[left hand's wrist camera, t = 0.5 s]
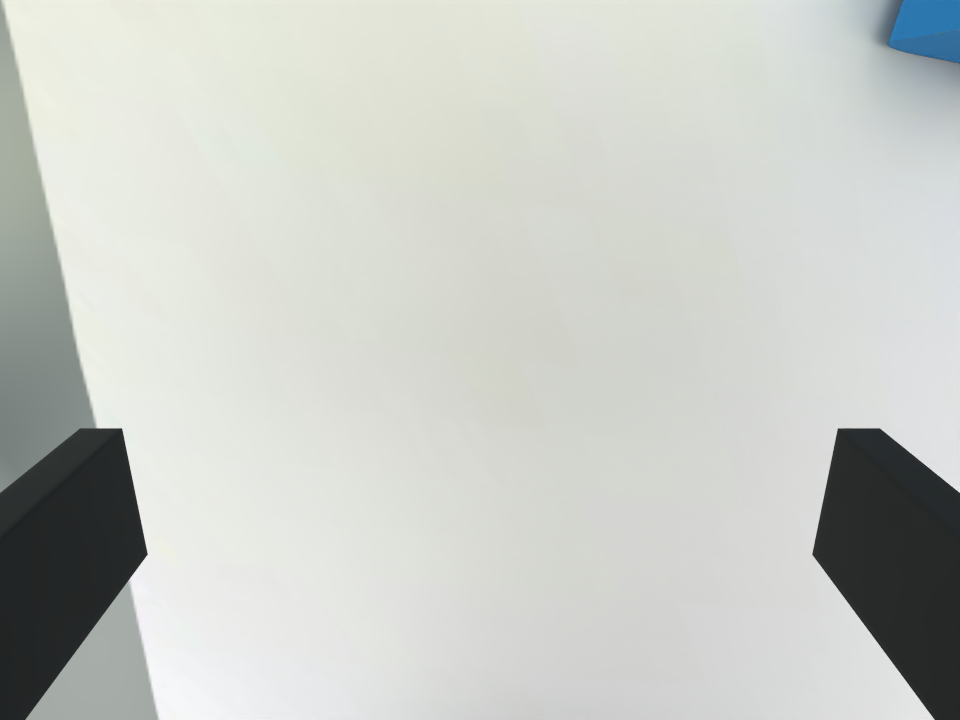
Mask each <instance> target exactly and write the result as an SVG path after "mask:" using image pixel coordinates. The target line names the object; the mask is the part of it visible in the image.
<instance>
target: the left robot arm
mask: <svg viewBox="0 0 960 720" xmlns="http://www.w3.org/2000/svg"><path fill="white" fill-rule="evenodd" d="M147 555H148V554H147V549H146V544H145V539H144V534H143V529H142V524H141V520H140V515H139V510H138V505H137V500H136V495H135V490H134V485H133V480H132V475H131V470H130V465H129V460H128V456H127V451H126V446H125V441H124V436H123V431H122V429H79V430H78V431H77V432H75V433H74V434H73V435H72V436H70V437H69V438H68V439H67V440H65V441H64V442H63V443H62V444H60V445H59V446H58V447H57V448H55V449H54V450H53V451H52V452H51V453H49V454H48V455H47V456H46V457H44V458H43V459H42V460H41V461H39V462H38V463H37V464H36V465H34V466H33V467H32V468H31V469H30V470H28V471H27V472H26V473H25V474H23V475H22V476H21V477H20V478H18V479H17V480H16V481H15V482H13V483H12V484H11V485H10V486H8V487H7V488H6V489H5V490H3V491H2V492H1V493H0V720H25V719H26V718H27V717H28V715H29V714H30V713H31V711H32V710H33V708H34V707H35V706H36V704H37V703H38V702H39V700H40V699H41V698H42V696H43V695H44V694H45V692H46V691H47V690H48V688H49V687H50V686H51V684H52V683H53V681H54V680H55V679H56V677H57V676H58V675H59V673H60V672H61V671H62V669H63V668H64V667H65V665H66V664H67V663H68V661H69V660H70V659H71V657H72V656H73V655H74V653H75V652H76V650H77V649H78V648H79V646H80V645H81V644H82V642H83V641H84V640H85V638H86V637H87V636H88V634H89V633H90V631H91V630H92V629H93V628H94V626H95V625H96V623H97V622H98V621H99V619H100V618H101V617H102V615H103V614H104V613H105V611H106V610H107V609H108V607H109V606H110V605H111V603H112V602H113V600H114V599H115V598H116V596H117V595H118V594H119V592H120V591H121V590H122V588H123V587H124V586H125V584H126V583H127V582H128V580H129V579H130V578H131V576H132V575H133V574H134V572H135V571H136V569H137V568H138V567H139V565H140V564H141V563H142V561H143V560H144V559H145V557H146V556H147ZM812 555H813V556H814V557H815V559H816V560H817V561H818V563H819V564H820V565H821V567H822V568H823V569H824V571H825V572H826V574H827V575H828V576H829V578H830V579H831V580H832V582H833V583H834V584H835V586H836V587H837V588H838V590H839V591H840V592H841V594H842V595H843V596H844V598H845V599H846V601H847V602H848V603H849V605H850V606H851V607H852V609H853V610H854V611H855V613H856V614H857V615H858V617H859V618H860V619H861V621H862V622H863V623H864V625H865V626H866V628H867V629H868V630H869V632H870V633H871V634H872V636H873V637H874V638H875V640H876V641H877V642H878V644H879V645H880V646H881V648H882V649H883V650H884V652H885V653H886V655H887V656H888V657H889V659H890V660H891V661H892V663H893V664H894V665H895V667H896V668H897V669H898V671H899V672H900V673H901V675H902V676H903V677H904V679H905V680H906V682H907V683H908V684H909V686H910V687H911V688H912V690H913V691H914V692H915V694H916V695H917V696H918V698H919V699H920V700H921V702H922V703H923V704H924V706H925V707H926V709H927V710H928V711H929V713H930V714H931V715H932V717H933V718H934V719H935V720H960V493H959V492H958V491H957V490H955V489H954V488H953V487H952V486H950V485H949V484H948V483H947V482H945V481H944V480H943V479H942V478H940V477H939V476H938V475H937V474H935V473H934V472H933V471H932V470H931V469H929V468H928V467H927V466H926V465H924V464H923V463H922V462H921V461H919V460H918V459H917V458H916V457H914V456H913V455H912V454H911V453H909V452H908V451H907V450H906V449H905V448H903V447H902V446H901V445H900V444H898V443H897V442H896V441H895V440H893V439H892V438H891V437H890V436H888V435H887V434H886V433H885V432H883V431H882V430H881V429H838V431H837V436H836V441H835V446H834V451H833V456H832V460H831V465H830V470H829V475H828V480H827V485H826V490H825V495H824V500H823V505H822V510H821V515H820V520H819V524H818V529H817V534H816V539H815V544H814V549H813V554H812Z"/></svg>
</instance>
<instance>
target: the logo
mask: <svg viewBox="0 0 960 720" xmlns="http://www.w3.org/2000/svg"><path fill="white" fill-rule="evenodd" d="M888 45H889V46H890V47H892V48H894V49H897V50H900V51H903V52H907V53H912V54H917V55H922V56H927V57H932V58H937V59H942V60H947V61H952V62H957V63H960V0H903V2H902V5H901V8H900V11H899V13H898V16H897V19H896V22H895V25H894V28H893V31H892V33H891V36H890V39H889V42H888Z"/></svg>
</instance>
